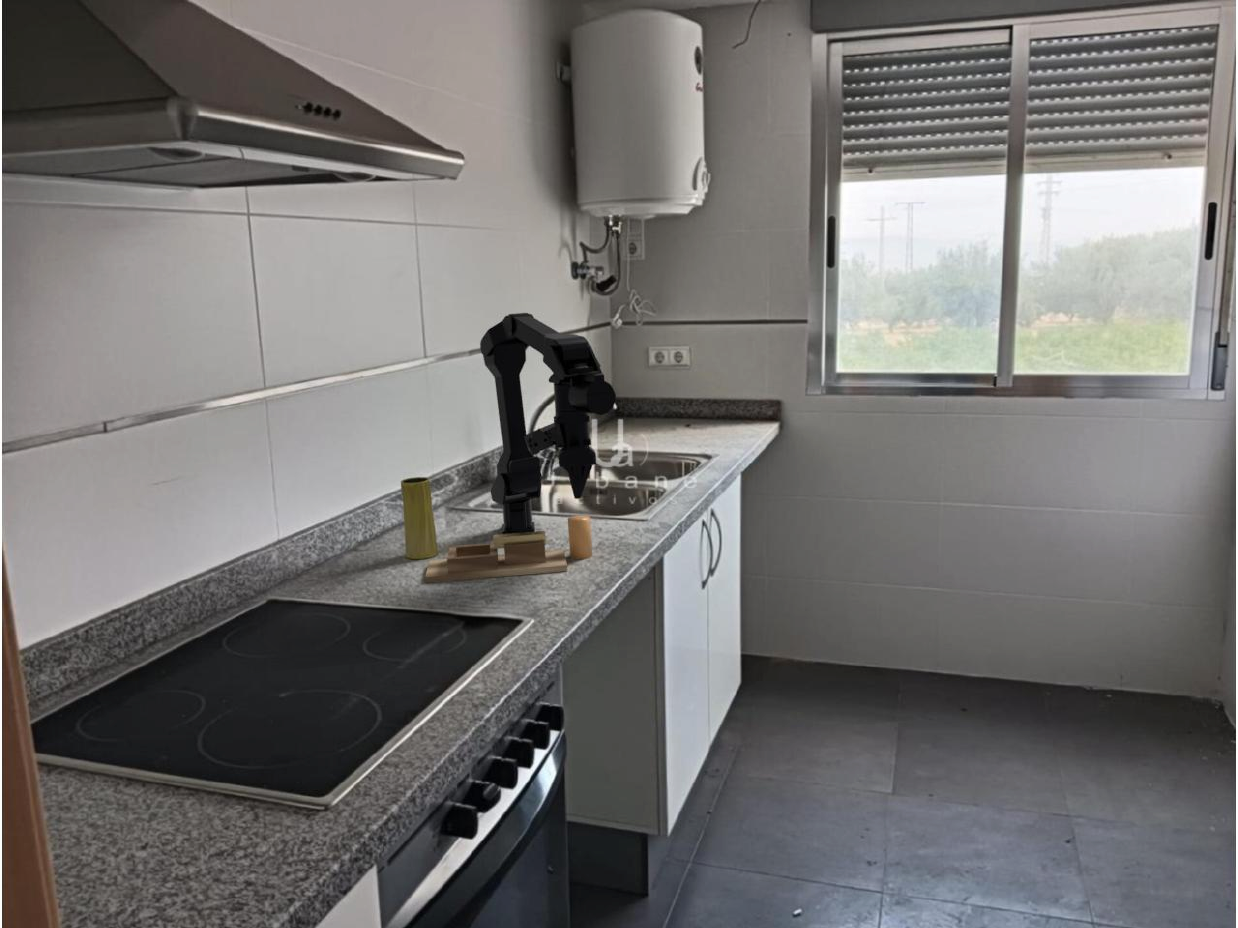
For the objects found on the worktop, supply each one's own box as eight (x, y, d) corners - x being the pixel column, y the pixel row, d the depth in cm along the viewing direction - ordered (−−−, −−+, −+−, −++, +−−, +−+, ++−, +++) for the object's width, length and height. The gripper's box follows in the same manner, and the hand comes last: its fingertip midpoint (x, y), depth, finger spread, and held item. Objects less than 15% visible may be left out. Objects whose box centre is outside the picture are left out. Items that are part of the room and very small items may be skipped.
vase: (399, 555, 185) (392, 480, 182) (428, 548, 189) (421, 475, 186) (415, 561, 180) (408, 485, 177) (445, 554, 184) (438, 479, 181)
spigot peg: (569, 553, 180) (567, 516, 179) (591, 551, 181) (589, 514, 179) (570, 559, 176) (568, 521, 175) (593, 558, 177) (590, 520, 175)
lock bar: (494, 545, 174) (493, 534, 173) (545, 541, 175) (544, 530, 174) (494, 548, 172) (493, 537, 171) (546, 544, 173) (545, 533, 172)
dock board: (430, 565, 177) (427, 541, 176) (564, 554, 180) (562, 530, 179) (425, 582, 167) (423, 557, 167) (567, 570, 170) (565, 545, 169)
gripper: (524, 405, 181) (530, 488, 185) (526, 420, 163) (532, 512, 166) (585, 401, 183) (590, 484, 186) (593, 415, 164) (598, 507, 167)
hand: (577, 496), depth 176 cm, fingers open, 3 cm apart
